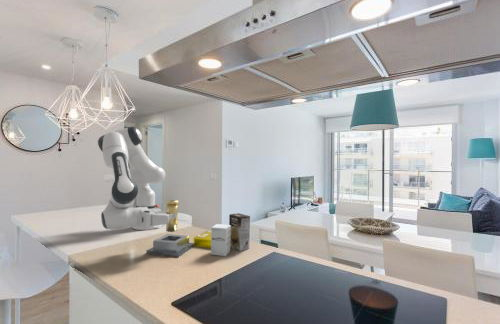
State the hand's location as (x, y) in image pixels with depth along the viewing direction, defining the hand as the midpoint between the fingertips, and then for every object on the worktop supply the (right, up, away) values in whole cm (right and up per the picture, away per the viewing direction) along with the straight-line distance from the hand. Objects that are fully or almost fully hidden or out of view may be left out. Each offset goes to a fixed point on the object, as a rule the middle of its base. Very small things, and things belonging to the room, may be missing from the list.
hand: (173, 214), depth 122 cm
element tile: (+17, -18, +11) cm, 27 cm away
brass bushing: (-1, -7, -1) cm, 8 cm away
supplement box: (+23, -17, -4) cm, 29 cm away
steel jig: (-1, -17, -1) cm, 17 cm away
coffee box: (+31, -18, +4) cm, 36 cm away
